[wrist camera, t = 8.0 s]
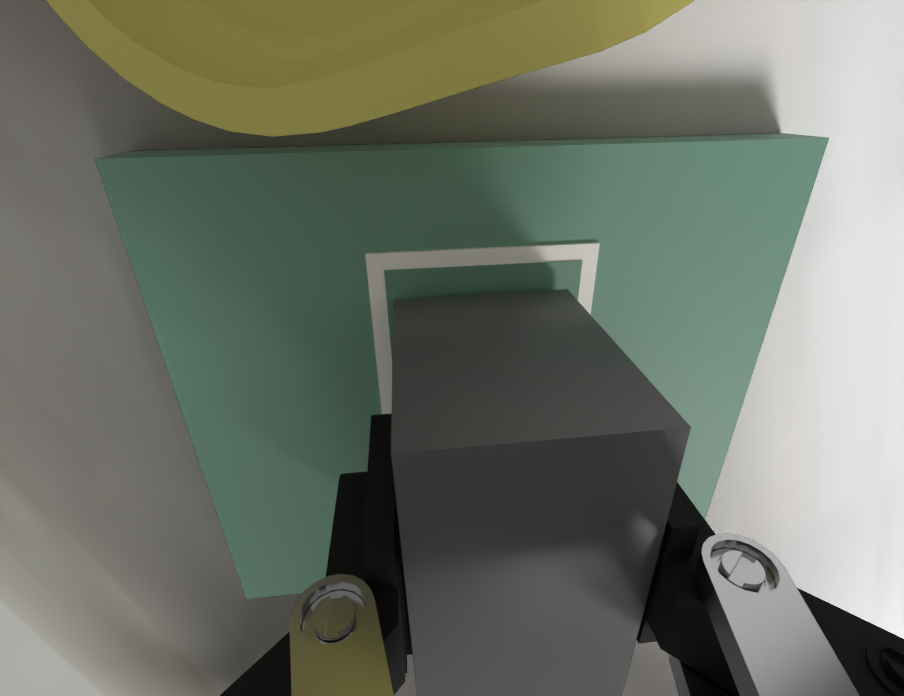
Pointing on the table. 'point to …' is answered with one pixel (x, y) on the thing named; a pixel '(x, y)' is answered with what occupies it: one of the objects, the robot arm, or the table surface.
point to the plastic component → (338, 51)
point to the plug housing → (525, 493)
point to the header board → (437, 291)
